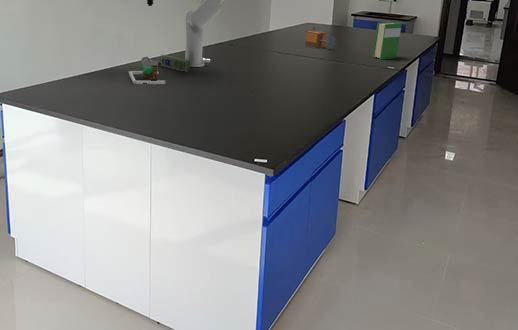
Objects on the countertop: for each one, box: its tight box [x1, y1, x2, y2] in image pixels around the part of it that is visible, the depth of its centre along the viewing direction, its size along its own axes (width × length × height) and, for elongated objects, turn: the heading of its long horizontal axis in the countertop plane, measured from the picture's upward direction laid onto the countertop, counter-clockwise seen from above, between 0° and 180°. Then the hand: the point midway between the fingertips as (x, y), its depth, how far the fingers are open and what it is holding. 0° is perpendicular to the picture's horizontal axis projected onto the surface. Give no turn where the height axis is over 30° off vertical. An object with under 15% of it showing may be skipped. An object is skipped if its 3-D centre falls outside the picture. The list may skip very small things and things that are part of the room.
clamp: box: [304, 26, 336, 50], centre depth 417 cm, size 11×20×14 cm, turn 47°
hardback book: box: [371, 21, 403, 60], centre depth 395 cm, size 18×7×24 cm, turn 130°
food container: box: [140, 56, 159, 81], centre depth 283 cm, size 12×6×10 cm, turn 34°
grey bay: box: [128, 70, 166, 85], centre depth 284 cm, size 15×22×2 cm
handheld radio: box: [158, 54, 191, 73], centre depth 312 cm, size 7×3×25 cm
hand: (150, 5), depth 306 cm, fingers closed
